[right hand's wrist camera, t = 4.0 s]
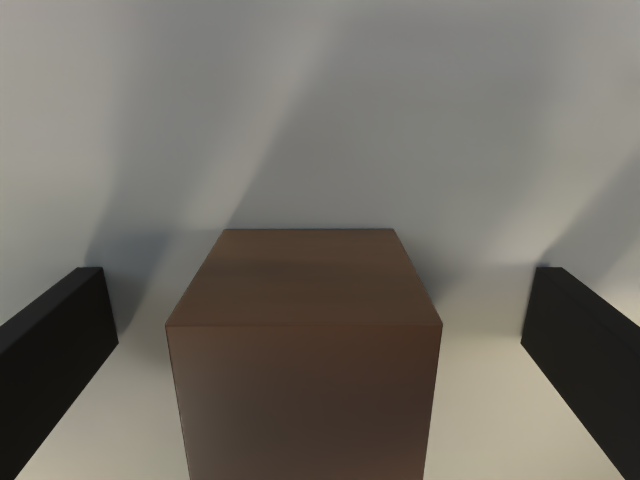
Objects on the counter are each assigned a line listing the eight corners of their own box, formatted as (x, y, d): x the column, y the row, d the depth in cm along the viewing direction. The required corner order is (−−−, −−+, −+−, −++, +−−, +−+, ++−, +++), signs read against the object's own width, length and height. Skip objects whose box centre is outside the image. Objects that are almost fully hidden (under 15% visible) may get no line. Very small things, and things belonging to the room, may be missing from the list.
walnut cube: (384, 367, 14) (419, 514, 9) (236, 368, 14) (195, 516, 9) (394, 228, 12) (444, 322, 7) (223, 228, 12) (163, 323, 7)
